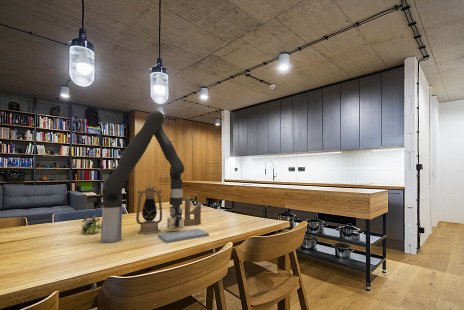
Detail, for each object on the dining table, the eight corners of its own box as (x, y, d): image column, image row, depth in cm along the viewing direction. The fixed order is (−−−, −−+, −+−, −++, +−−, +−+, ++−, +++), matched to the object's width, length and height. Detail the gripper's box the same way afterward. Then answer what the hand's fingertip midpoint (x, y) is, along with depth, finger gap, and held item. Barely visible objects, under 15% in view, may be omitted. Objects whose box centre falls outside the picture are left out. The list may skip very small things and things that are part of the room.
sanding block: (170, 229, 139) (170, 219, 139) (167, 228, 143) (167, 217, 143) (183, 228, 143) (183, 217, 144) (180, 226, 147) (180, 216, 148)
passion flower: (84, 242, 141) (85, 222, 148) (105, 237, 144) (104, 218, 151) (77, 235, 132) (78, 215, 139) (99, 230, 136) (99, 210, 142)
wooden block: (200, 224, 163) (201, 197, 164) (185, 226, 158) (185, 198, 159) (198, 223, 166) (199, 196, 167) (183, 225, 161) (183, 197, 162)
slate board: (166, 243, 121) (166, 240, 121) (158, 237, 132) (158, 234, 132) (208, 235, 134) (208, 233, 135) (198, 231, 145) (198, 228, 145)
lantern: (135, 235, 135) (136, 181, 137) (136, 230, 147) (137, 180, 148) (162, 233, 140) (163, 180, 142) (161, 228, 151) (162, 180, 153)
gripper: (166, 195, 148) (165, 224, 147) (174, 198, 136) (173, 228, 135) (177, 195, 152) (176, 222, 151) (187, 197, 140) (186, 227, 139)
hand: (175, 225), depth 143 cm, fingers closed on sanding block, 5 cm apart
